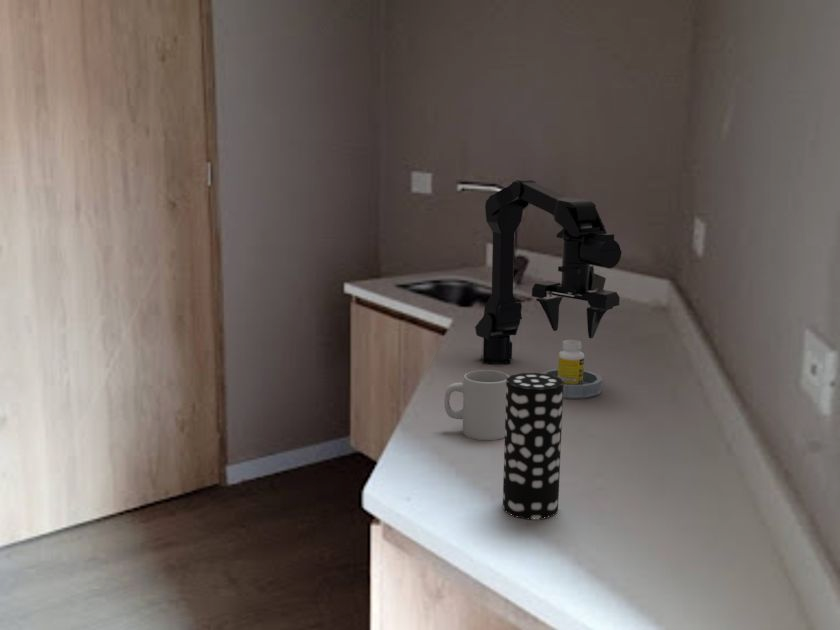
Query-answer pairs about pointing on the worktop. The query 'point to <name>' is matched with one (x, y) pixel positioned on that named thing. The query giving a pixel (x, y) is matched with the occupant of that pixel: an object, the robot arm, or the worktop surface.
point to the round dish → (581, 386)
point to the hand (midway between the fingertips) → (572, 334)
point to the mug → (481, 404)
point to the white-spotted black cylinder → (532, 444)
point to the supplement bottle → (571, 363)
